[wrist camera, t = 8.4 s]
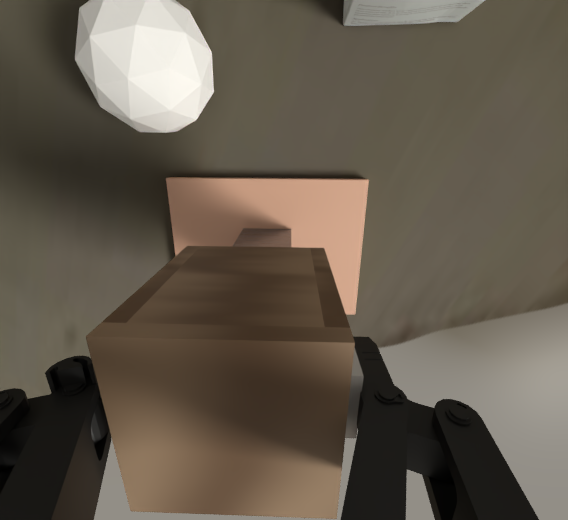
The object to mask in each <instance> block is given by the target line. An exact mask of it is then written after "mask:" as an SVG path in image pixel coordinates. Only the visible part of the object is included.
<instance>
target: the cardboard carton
mask: <svg viewBox="0 0 568 520" xmlns="http://www.w3.org/2000/svg"><path fill="white" fill-rule="evenodd" d="M86 340H87V344H88V348H89V352H90V355H91V359H92V363H93V367H94V371H95V375H96V379H97V383H98V386H99V390H100V394H101V398H102V402H103V406H104V410H105V413H106V417H107V421H108V425H109V429H110V433H111V437H112V440H113V444H114V448H115V452H116V456H117V460H118V464H119V468H120V471H121V475H122V479H123V483H124V487H125V491H126V495H127V499H128V502H129V506H130V510H131V511H137V512H164V513H192V514H219V515H220V514H221V515H246V516H274V517H275V516H276V517H301V518H328V519H329V518H330V519H336V518H337V509H338V500H339V490H340V481H341V471H342V462H343V452H344V442H345V433H346V423H347V414H348V404H349V395H350V385H351V376H352V366H353V356H354V347H355V342H354V338H353V335H352V332H351V329H350V326H349V323H348V320H347V317H346V314H345V311H344V308H343V305H342V301H341V298H340V295H339V292H338V289H337V286H336V283H335V280H334V277H333V274H332V271H331V268H330V264H329V261H328V258H327V255H326V252H325V249H324V248H301V247H235V246H186V247H185V248H184V249H183V250H182V251H181V252H180V253H179V254H178V255H176V256H175V257H174V258H173V259H172V260H171V261H170V262H169V263H167V264H166V265H165V266H164V267H163V268H162V269H161V270H160V271H159V272H157V273H156V274H155V275H154V276H153V277H152V278H151V279H150V280H148V281H147V282H146V283H145V284H144V285H143V286H142V287H141V288H140V289H138V290H137V291H136V292H135V293H134V294H133V295H132V296H131V297H130V298H128V299H127V300H126V301H125V302H124V303H123V304H122V305H121V306H119V307H118V308H117V309H116V310H115V311H114V312H113V313H112V314H111V315H109V316H108V317H107V318H106V319H105V320H104V321H103V322H102V323H100V324H99V325H98V326H97V327H96V328H95V329H94V330H93V331H92V332H90V333H89V334H88V335H87V336H86Z"/></svg>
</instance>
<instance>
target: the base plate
mask: <svg viewBox="0 0 568 520" xmlns="http://www.w3.org/2000/svg"><path fill="white" fill-rule="evenodd" d="M368 182H369V180H367V179H323V178H213V177H169V178H166V183H167V191H168V199H169V207H170V215H171V223H172V231H173V239H174V247H175V255H178V254H179V253H180V252H181V251H182V250H183V249H184V248H185V247H186V246H233V244H234V243H235V241H236V239H237V238H238V236H239V235H240V233H241V231H242V230H243V228H260V229H291V247H301V248H324V249H325V252H326V255H327V258H328V261H329V264H330V268H331V271H332V274H333V277H334V280H335V283H336V286H337V289H338V292H339V295H340V298H341V301H342V305H343V308H344V311H345V314H355V311H356V301H357V291H358V282H359V272H360V262H361V252H362V242H363V232H364V222H365V212H366V202H367V192H368Z"/></svg>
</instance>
